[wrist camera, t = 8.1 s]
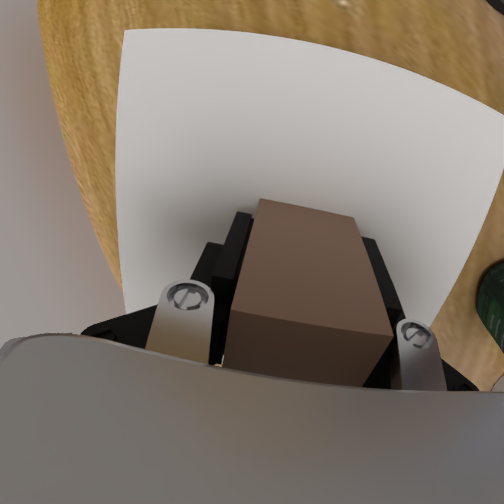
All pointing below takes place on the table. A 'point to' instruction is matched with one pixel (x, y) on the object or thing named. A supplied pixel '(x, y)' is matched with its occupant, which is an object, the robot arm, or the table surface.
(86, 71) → the table surface
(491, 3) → the media streaming box
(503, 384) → the mug
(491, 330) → the coffee jar
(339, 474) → the robot arm
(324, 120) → the lid
